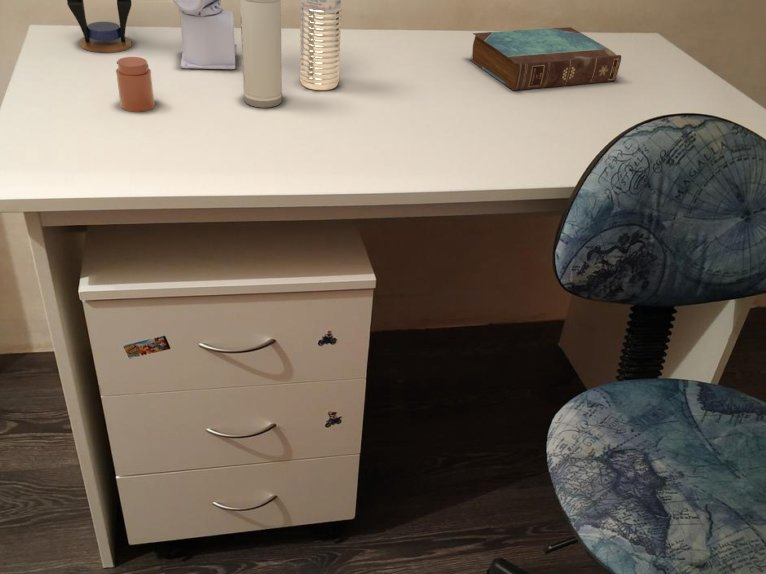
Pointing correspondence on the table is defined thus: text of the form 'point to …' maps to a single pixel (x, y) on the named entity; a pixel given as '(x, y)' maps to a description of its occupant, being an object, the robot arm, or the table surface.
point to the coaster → (105, 45)
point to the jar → (135, 84)
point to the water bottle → (320, 43)
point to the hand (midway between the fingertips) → (105, 40)
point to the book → (544, 58)
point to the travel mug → (261, 52)
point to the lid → (103, 31)
